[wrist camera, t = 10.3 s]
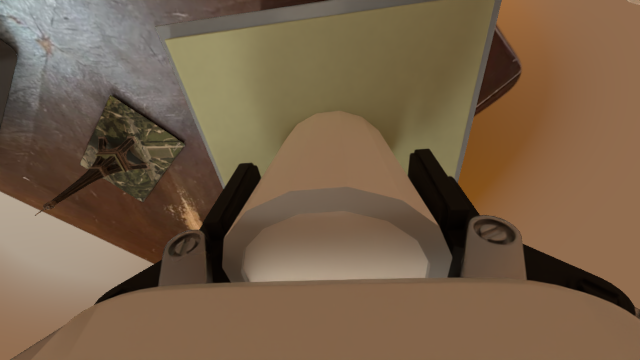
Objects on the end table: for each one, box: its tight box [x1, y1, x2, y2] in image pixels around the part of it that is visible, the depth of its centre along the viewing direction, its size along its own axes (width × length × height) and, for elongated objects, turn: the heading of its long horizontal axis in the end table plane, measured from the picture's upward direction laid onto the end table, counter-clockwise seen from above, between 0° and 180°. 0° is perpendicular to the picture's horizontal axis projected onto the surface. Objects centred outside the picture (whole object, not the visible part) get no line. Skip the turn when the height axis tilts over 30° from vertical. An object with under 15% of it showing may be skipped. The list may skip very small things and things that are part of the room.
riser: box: [155, 0, 502, 189], centre depth 21 cm, size 14×14×18 cm
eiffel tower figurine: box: [36, 95, 185, 215], centre depth 30 cm, size 15×10×13 cm
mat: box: [165, 0, 495, 186], centre depth 13 cm, size 13×13×1 cm
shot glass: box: [222, 111, 452, 283], centre depth 10 cm, size 7×7×7 cm
